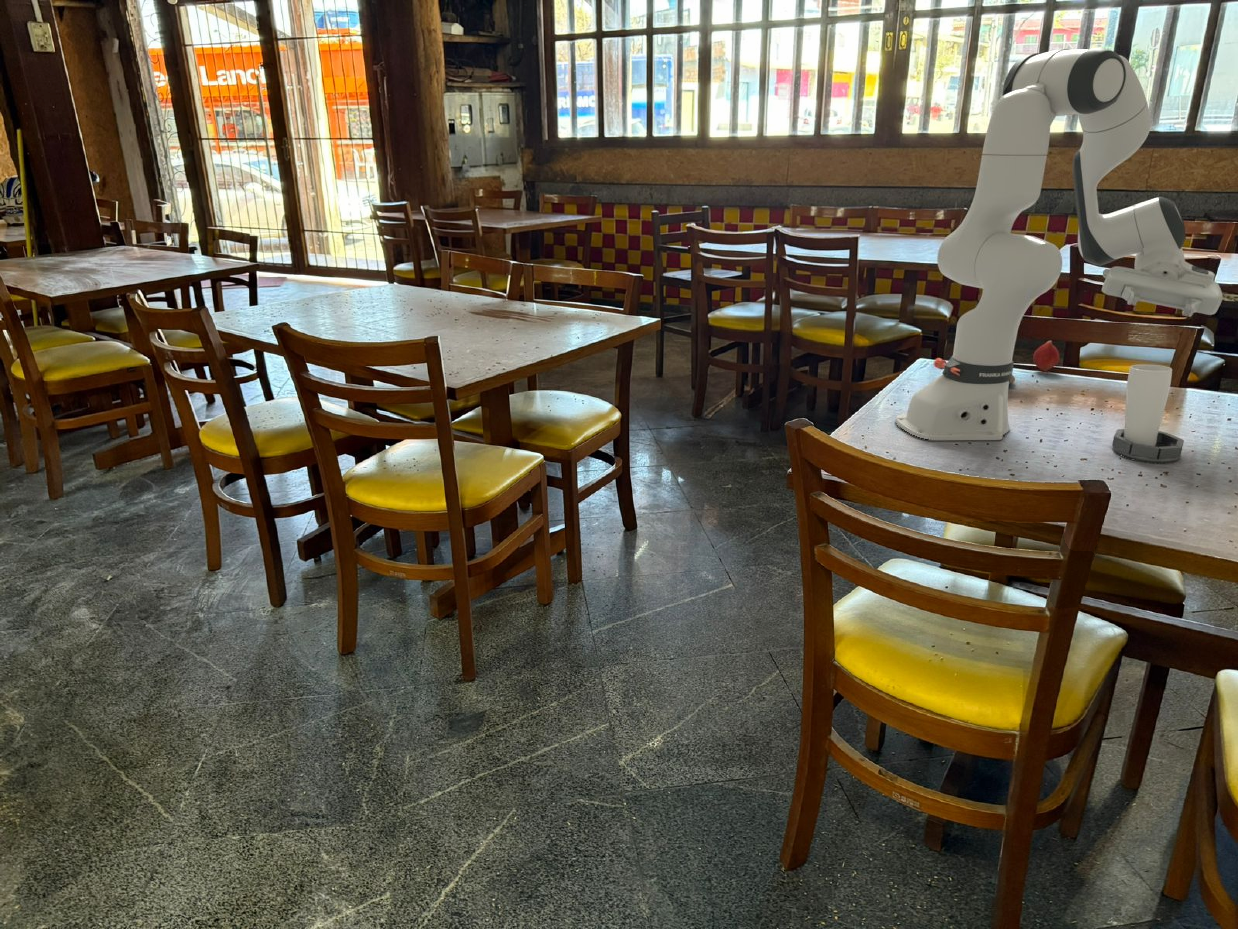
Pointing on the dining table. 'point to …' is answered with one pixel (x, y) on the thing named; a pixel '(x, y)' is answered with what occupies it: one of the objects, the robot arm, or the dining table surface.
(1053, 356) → the onion
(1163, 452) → the ring
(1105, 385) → the dining table surface
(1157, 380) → the drinking glass
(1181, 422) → the dining table surface
